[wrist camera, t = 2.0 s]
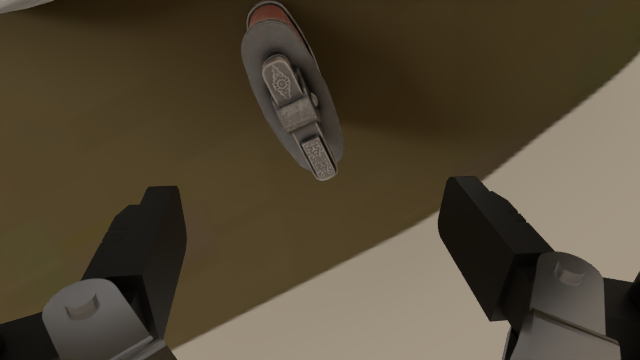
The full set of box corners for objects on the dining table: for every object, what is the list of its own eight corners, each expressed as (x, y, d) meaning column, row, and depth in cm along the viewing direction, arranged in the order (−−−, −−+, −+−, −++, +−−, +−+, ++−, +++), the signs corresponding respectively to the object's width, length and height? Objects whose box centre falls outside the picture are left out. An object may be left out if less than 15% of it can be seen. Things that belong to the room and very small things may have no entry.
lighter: (234, 14, 24) (217, 55, 15) (285, -12, 24) (296, 17, 15) (292, 126, 28) (304, 208, 20) (336, 106, 28) (368, 180, 19)
